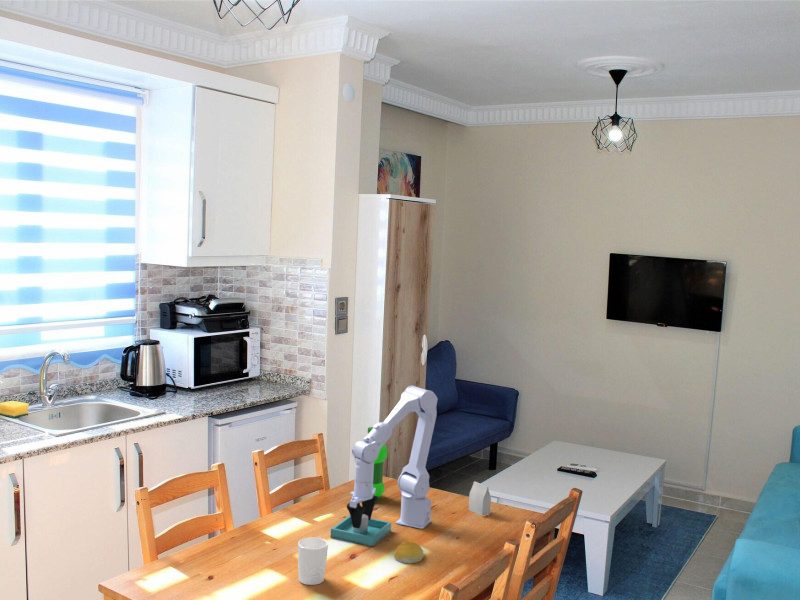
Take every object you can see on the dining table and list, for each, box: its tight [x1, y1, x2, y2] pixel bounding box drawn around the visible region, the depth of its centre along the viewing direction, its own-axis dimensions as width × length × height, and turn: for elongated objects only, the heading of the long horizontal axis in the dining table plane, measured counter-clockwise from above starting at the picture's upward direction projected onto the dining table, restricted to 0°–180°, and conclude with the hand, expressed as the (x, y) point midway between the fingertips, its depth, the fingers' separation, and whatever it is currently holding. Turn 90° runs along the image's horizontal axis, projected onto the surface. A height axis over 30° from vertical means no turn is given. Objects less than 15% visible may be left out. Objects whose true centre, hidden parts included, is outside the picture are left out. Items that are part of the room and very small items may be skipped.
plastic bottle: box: [367, 426, 389, 499], centre depth 264 cm, size 10×10×25 cm
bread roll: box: [393, 541, 424, 564], centre depth 217 cm, size 8×9×4 cm
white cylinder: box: [353, 514, 368, 535], centre depth 233 cm, size 4×4×5 cm
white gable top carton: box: [468, 481, 492, 517], centre depth 256 cm, size 4×7×10 cm, turn 37°
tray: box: [330, 514, 392, 547], centre depth 233 cm, size 14×14×3 cm
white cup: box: [297, 536, 329, 586], centre depth 200 cm, size 8×8×10 cm
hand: (361, 523), depth 232 cm, fingers open, 7 cm apart
